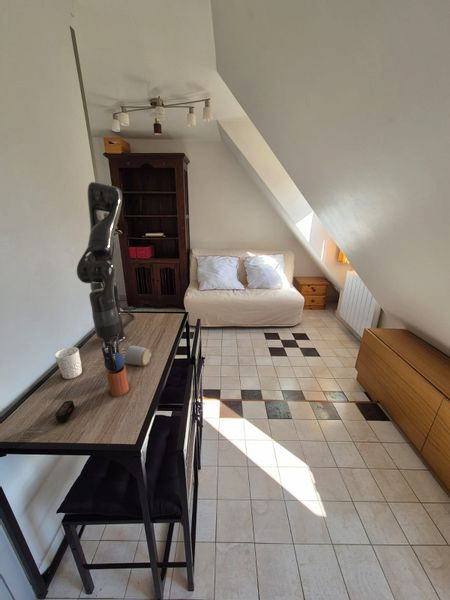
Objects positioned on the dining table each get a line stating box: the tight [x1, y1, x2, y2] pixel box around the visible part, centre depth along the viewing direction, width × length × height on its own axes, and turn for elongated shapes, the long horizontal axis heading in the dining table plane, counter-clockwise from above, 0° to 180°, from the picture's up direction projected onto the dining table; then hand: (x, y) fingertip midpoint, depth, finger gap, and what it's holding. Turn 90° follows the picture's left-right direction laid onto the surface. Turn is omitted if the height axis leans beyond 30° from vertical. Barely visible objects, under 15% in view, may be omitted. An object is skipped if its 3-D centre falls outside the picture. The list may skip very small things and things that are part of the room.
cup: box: [105, 364, 130, 397], centre depth 89 cm, size 6×6×9 cm
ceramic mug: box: [124, 345, 152, 367], centre depth 106 cm, size 11×8×8 cm
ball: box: [103, 352, 126, 371], centre depth 86 cm, size 6×6×6 cm
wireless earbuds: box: [54, 400, 76, 424], centre depth 79 cm, size 5×7×3 cm, turn 6°
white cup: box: [54, 346, 83, 380], centre depth 98 cm, size 8×8×10 cm
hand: (115, 364), depth 87 cm, fingers closed on ball, 6 cm apart
